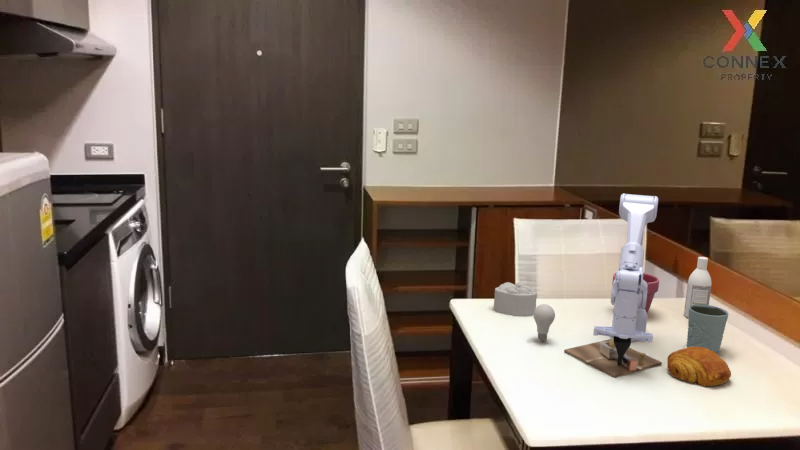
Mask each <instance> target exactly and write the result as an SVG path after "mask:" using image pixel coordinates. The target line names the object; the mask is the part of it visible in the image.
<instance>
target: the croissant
mask: <svg viewBox="0 0 800 450" xmlns="http://www.w3.org/2000/svg"><path fill="white" fill-rule="evenodd" d="M666 362H667V364H666V367H667V371H668V373H669V374H670V375H671V376H672V377H674V378H675V379H679V380H682V381H685V382H689V383H691V384H696V385H697V386H701V387H714V386H720V385H723V384H725V383H727V382H728V381H729V380H730V378H731V377H732V372H731V370H730V367H729V364H728V362H726V361H725V360H724V359H723V358H722V357H721V356H719V354H717V353H716V352H714V351H711V350H709V349H706V348H704V347H687V346H686V347H685V348H680V349H678V350H676V351H673V352H671V353H670V354H669V355H668V356H667V359H666Z"/></svg>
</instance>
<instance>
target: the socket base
mask: <svg viewBox="0 0 800 450" xmlns="http://www.w3.org/2000/svg"><path fill="white" fill-rule="evenodd" d="M605 341H609V346H610V347H611V348H612V347H615V344H614V340H613V338H609V339H605V340H600V341H597V342H592V343H588V344H582V345H579V346H578V345H577V346H574V347H570V348H566V349H564V350H563V352H564V353H565V354H567V355H568V356H569V357H572V358H574V359H577V360H579V361H580V362H582V363H584V364H586V365H587V366H590V367H592V368H594V369H596V370H597V371H599V372H602V373H604V374H606V375H608V376H610V377H611V378H613V379H615V378H620V377H623V376H625V375H626V376H627V375H629V374H633V373H634V374H635V373H637V372H641V371H644V370H648V369H652V368H655V367H660V366H662V365H663V362H662V361H661V360H658V359H656V358H653V357H652V356H649V355H647V354H646V353H644V352H640V351H639V350H636V349H633V348H631V347H629V348H628V349H627V351H626V355H627V356H629V357H630V358H631V359H635V360H636V361H637V366H636V370H628V369H627V368H626V367H625V366H624V365H623V364H622V366H619V365H617V360H616V359H615V358H612V359H609V358H607V357H606V356H605V355H604V354H602V353H601V352H600V342H605ZM564 353H563V354H564Z"/></svg>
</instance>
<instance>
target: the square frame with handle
mask: <svg viewBox="0 0 800 450" xmlns="http://www.w3.org/2000/svg"><path fill="white" fill-rule="evenodd" d="M599 342H600V341H599ZM600 352H601V353H602V354H604V355H605V356H606V357H607V358H609V359H612V358H615V359H616V360H618V353H617V350H616V347H612V348H611V347H610V346H609V341H605V342H600ZM622 364H623V365H624V366H625V367H626V368H627V369H628V370H636V366H637V361H636V360H635V359H631V358H630V357H629V356H627V355H626V352H625V354H624V356H623V358H622Z"/></svg>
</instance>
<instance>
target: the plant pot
mask: <svg viewBox="0 0 800 450" xmlns="http://www.w3.org/2000/svg"><path fill="white" fill-rule="evenodd" d="M615 277H616V272H614V273H613V277H612V284H611V285H612V286H613V281H614V280H615ZM643 280H644V281H646V282H647V285H648V286H647V299H646V307H645V308H644V309H645V311H646V313H647V315H648V313H649V312H650V309H651V305H652V303H653V300H654V297H655V293H657V292H659V287H660V286H659V285H660V279H659V278H658V277H657V276H655V275H653V274H649V273H646V272H643Z"/></svg>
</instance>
